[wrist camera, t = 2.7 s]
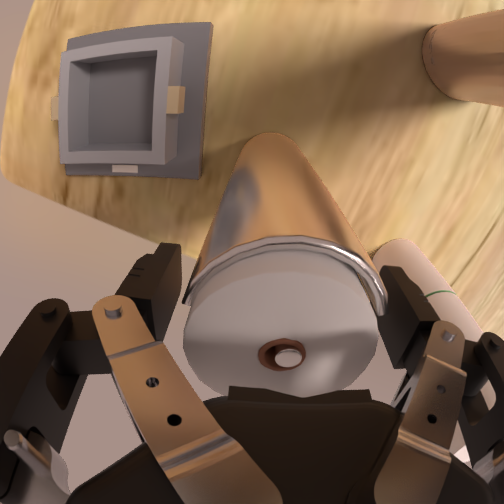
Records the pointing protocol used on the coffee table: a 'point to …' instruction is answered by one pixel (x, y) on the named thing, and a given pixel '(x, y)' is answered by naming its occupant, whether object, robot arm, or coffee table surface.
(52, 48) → the coffee table surface
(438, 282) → the cylindrical container
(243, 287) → the silver metal cylinder
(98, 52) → the socket
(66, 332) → the robot arm
